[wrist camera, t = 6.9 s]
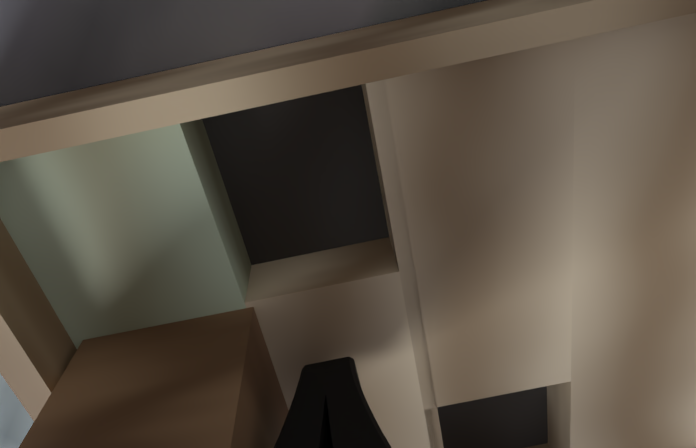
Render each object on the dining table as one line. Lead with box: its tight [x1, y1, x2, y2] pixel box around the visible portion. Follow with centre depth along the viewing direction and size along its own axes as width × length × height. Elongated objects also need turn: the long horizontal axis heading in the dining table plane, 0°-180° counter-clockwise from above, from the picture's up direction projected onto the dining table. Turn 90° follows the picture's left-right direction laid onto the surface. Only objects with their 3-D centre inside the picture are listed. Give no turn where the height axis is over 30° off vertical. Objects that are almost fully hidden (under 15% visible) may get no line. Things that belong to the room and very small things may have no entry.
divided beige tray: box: [0, 0, 696, 448], centre depth 14 cm, size 20×16×4 cm
